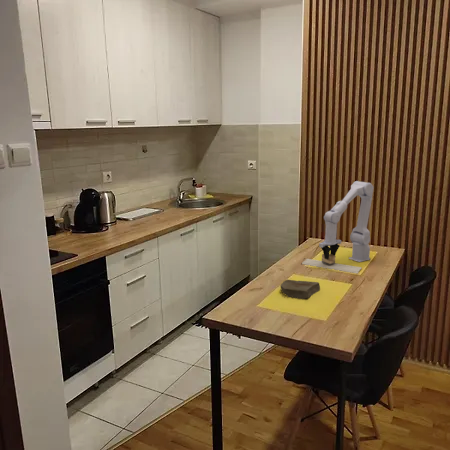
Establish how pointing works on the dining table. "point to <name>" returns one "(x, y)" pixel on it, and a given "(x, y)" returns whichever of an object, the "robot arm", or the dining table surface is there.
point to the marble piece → (299, 288)
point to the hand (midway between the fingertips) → (329, 258)
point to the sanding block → (330, 260)
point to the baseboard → (332, 266)
